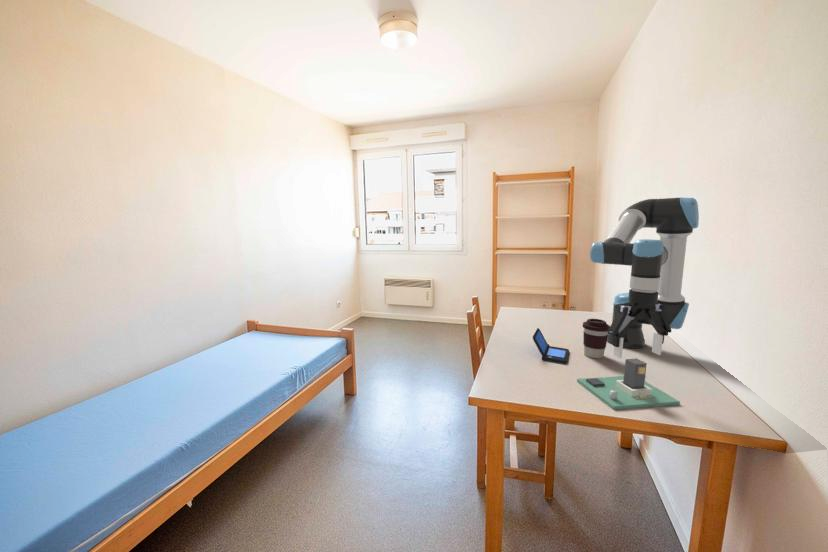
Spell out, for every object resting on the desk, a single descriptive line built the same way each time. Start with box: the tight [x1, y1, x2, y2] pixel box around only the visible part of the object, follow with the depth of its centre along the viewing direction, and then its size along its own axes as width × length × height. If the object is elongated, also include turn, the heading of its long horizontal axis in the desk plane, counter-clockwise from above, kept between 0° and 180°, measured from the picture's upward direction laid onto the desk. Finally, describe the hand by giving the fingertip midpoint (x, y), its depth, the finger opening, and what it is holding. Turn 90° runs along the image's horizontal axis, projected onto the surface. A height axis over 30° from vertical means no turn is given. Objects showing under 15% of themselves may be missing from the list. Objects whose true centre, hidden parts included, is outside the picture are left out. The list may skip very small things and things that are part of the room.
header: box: [615, 380, 652, 397], centre depth 109 cm, size 7×8×2 cm
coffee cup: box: [582, 318, 611, 359], centre depth 140 cm, size 10×10×15 cm
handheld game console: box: [532, 327, 570, 364], centre depth 141 cm, size 16×13×9 cm
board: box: [576, 375, 681, 410], centre depth 110 cm, size 22×18×3 cm
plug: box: [623, 358, 647, 389], centre depth 108 cm, size 4×5×10 cm
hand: (637, 354), depth 108 cm, fingers open, 13 cm apart
